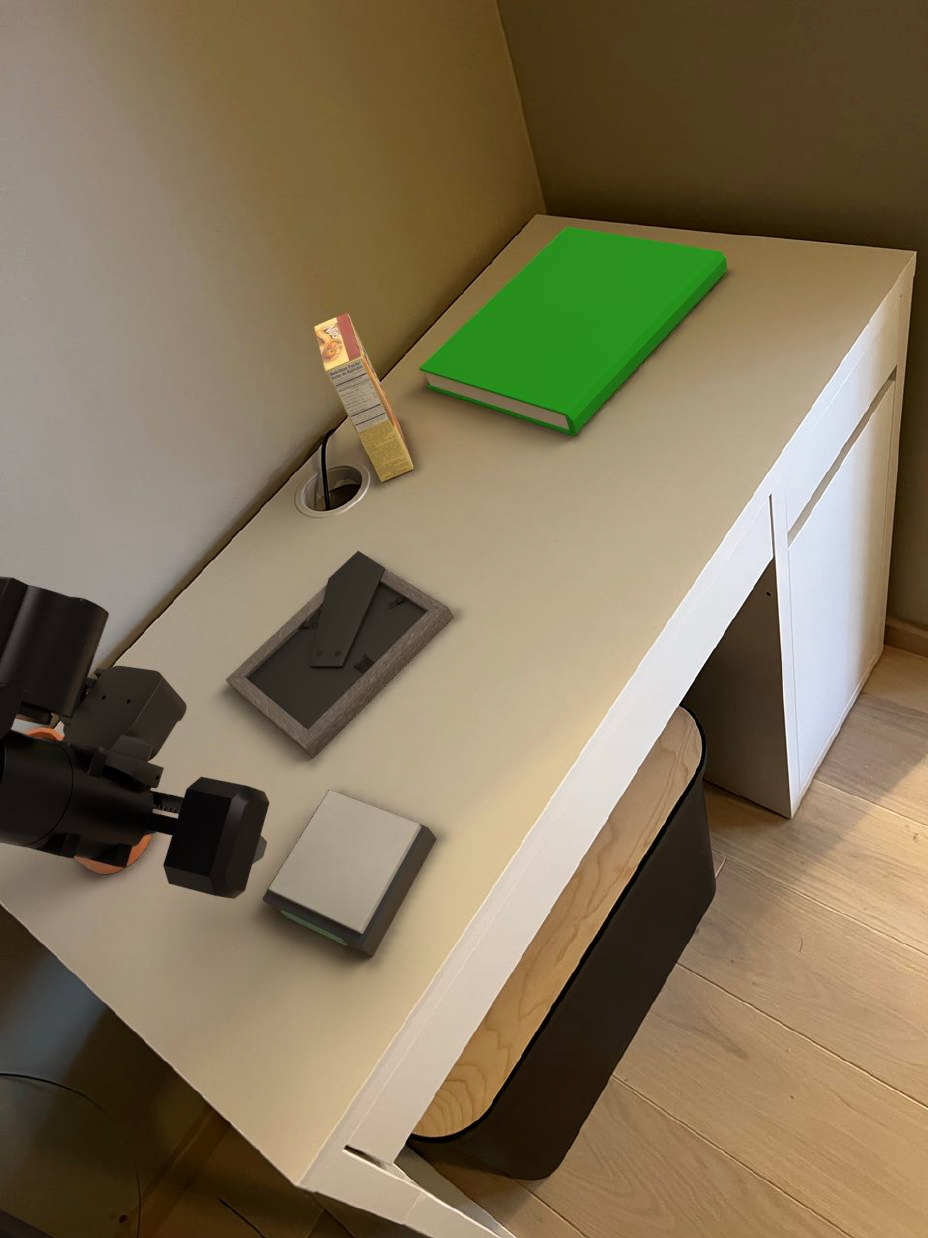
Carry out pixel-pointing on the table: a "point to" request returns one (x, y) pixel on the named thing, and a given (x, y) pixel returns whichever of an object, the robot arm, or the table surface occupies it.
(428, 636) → the picture frame
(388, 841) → the scale
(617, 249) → the book
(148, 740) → the robot arm
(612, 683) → the table surface
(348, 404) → the candy box
